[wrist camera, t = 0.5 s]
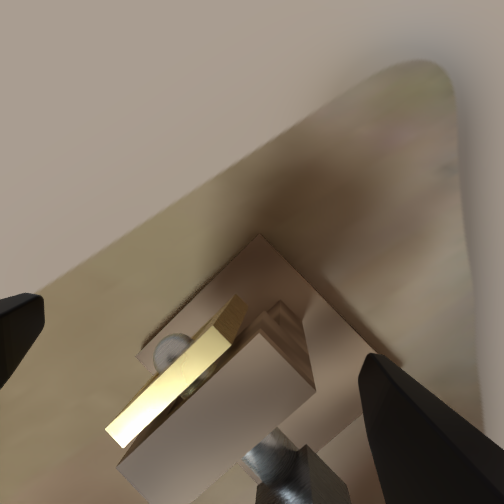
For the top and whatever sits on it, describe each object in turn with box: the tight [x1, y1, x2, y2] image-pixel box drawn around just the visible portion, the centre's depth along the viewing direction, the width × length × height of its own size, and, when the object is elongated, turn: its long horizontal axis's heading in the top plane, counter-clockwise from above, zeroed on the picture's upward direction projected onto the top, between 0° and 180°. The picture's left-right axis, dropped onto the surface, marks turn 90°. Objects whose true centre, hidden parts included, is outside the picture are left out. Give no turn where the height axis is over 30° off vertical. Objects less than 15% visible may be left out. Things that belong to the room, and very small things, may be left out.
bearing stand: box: [116, 234, 378, 504], centre depth 17 cm, size 13×12×10 cm
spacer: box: [105, 294, 249, 448], centre depth 15 cm, size 1×6×6 cm, turn 135°
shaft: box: [153, 333, 351, 504], centre depth 12 cm, size 10×3×8 cm, turn 45°
